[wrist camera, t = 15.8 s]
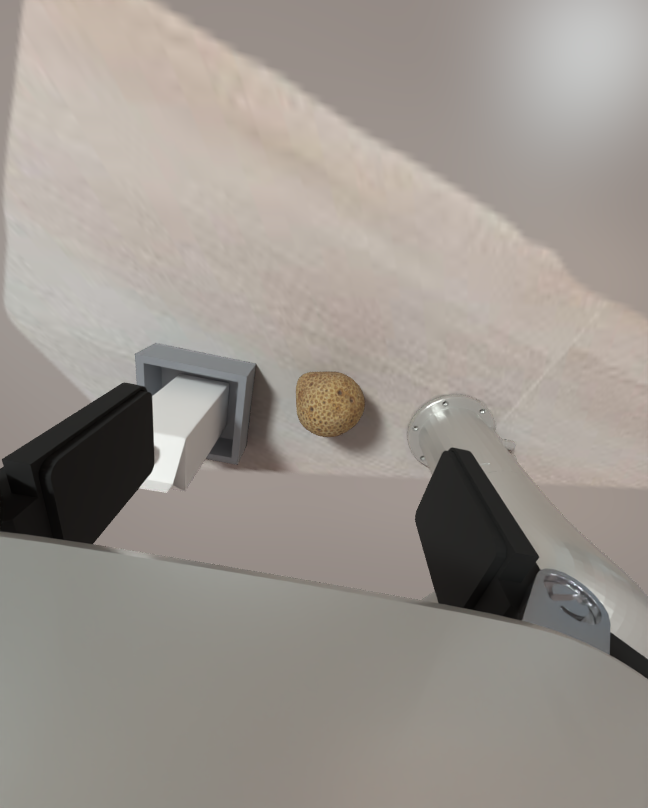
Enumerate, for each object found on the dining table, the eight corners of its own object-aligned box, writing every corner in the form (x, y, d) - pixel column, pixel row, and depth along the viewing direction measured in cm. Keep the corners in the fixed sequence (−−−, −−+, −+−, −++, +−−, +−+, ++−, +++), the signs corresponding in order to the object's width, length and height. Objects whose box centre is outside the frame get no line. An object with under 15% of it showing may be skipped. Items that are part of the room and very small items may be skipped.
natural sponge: (357, 418, 49) (362, 457, 40) (298, 414, 49) (289, 452, 40) (364, 360, 45) (371, 389, 36) (300, 356, 45) (291, 383, 36)
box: (255, 363, 45) (246, 376, 41) (246, 445, 51) (237, 464, 47) (155, 343, 45) (135, 353, 40) (157, 428, 51) (140, 446, 46)
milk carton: (227, 424, 49) (168, 519, 32) (180, 416, 49) (95, 507, 32) (230, 382, 46) (166, 462, 29) (180, 373, 46) (86, 447, 29)
